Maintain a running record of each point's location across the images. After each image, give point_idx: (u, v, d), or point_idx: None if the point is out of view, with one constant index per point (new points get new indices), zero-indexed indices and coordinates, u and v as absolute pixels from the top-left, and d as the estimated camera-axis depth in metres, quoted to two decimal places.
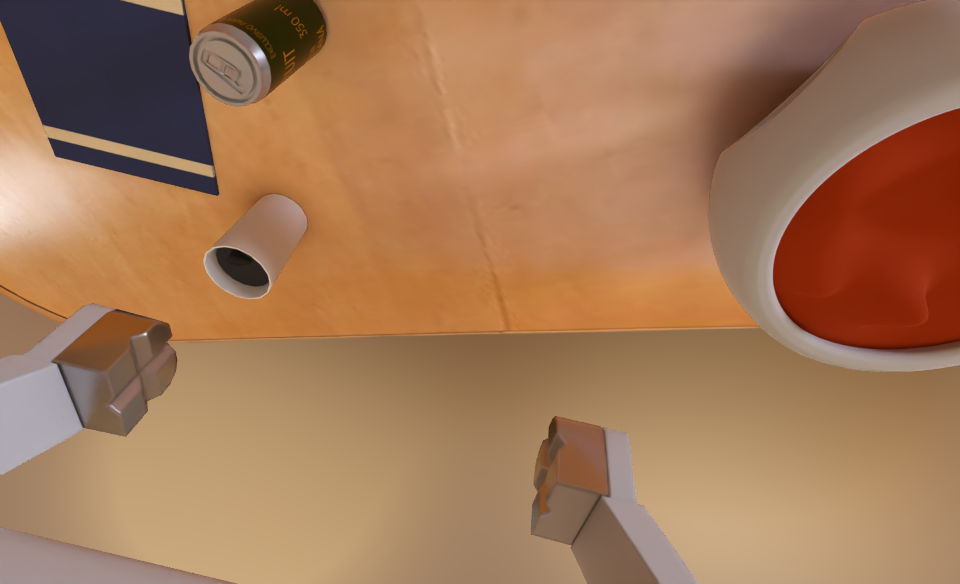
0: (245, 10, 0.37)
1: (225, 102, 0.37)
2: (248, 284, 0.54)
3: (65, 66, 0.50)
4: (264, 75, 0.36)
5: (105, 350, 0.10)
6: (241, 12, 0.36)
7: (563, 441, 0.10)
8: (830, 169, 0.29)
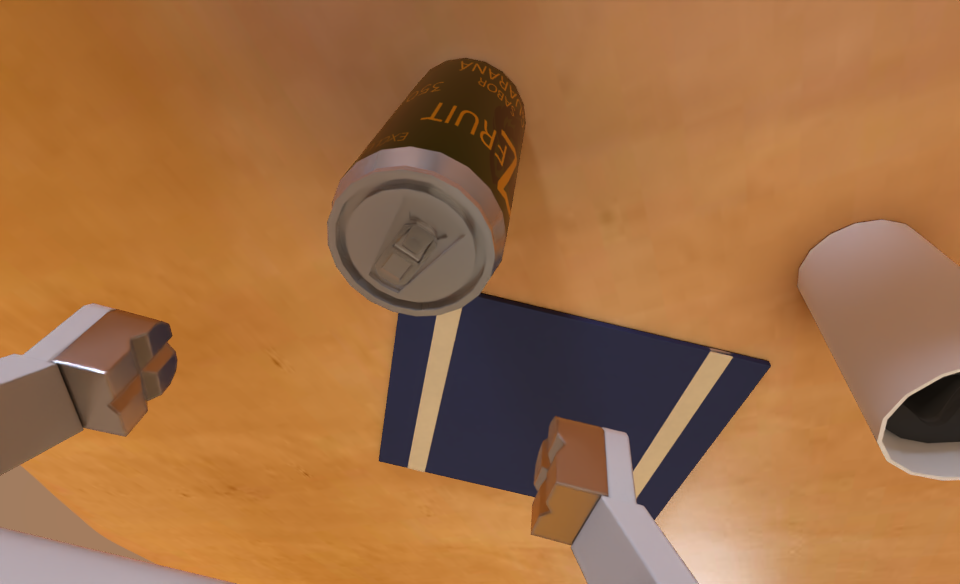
0: None
1: (486, 277, 0.15)
2: None
3: (533, 455, 0.38)
4: (421, 164, 0.14)
5: (105, 350, 0.10)
6: None
7: (563, 441, 0.10)
8: None
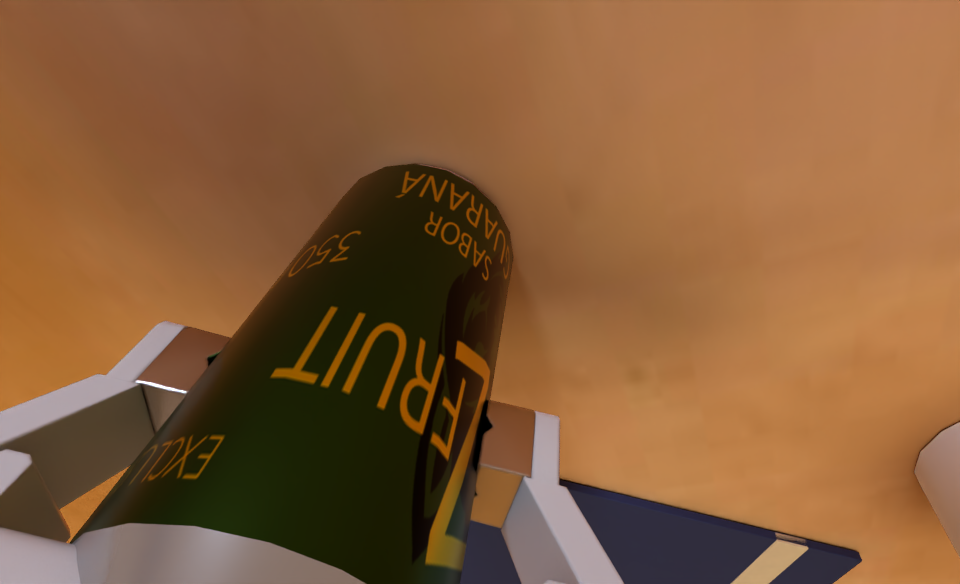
0: None
1: None
2: None
3: None
4: None
5: (185, 369, 0.10)
6: None
7: (491, 424, 0.10)
8: None
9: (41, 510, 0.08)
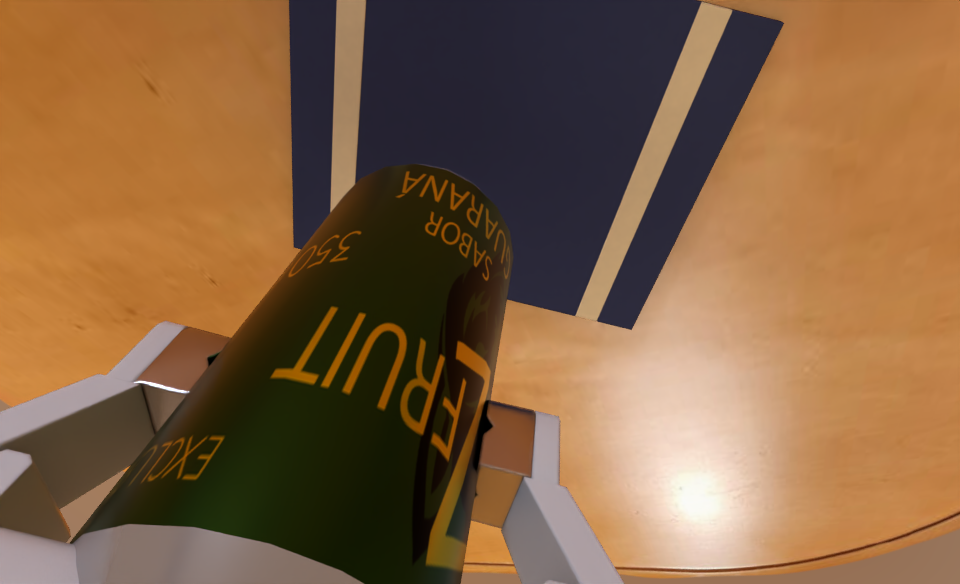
0: None
1: None
2: None
3: None
4: None
5: (185, 369, 0.10)
6: None
7: (491, 424, 0.10)
8: None
9: (41, 510, 0.08)
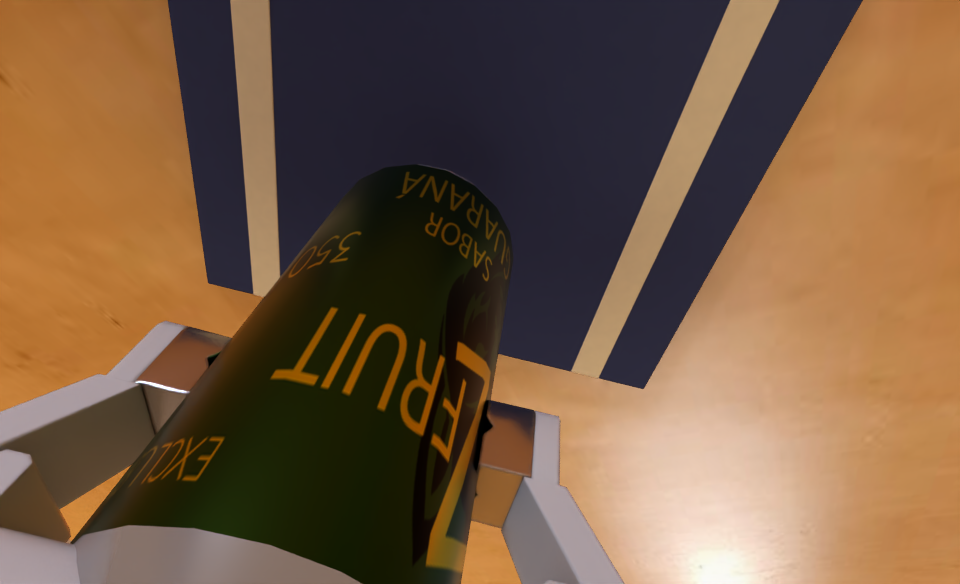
0: None
1: None
2: None
3: None
4: None
5: (185, 369, 0.10)
6: None
7: (491, 424, 0.10)
8: None
9: (41, 510, 0.08)
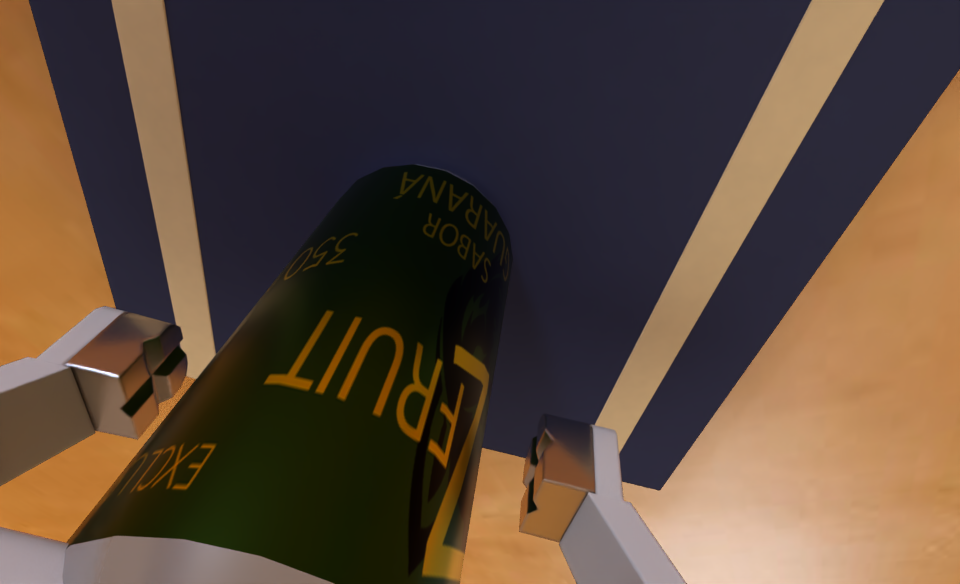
0: None
1: None
2: None
3: None
4: None
5: (118, 353, 0.10)
6: None
7: (551, 438, 0.10)
8: None
9: None
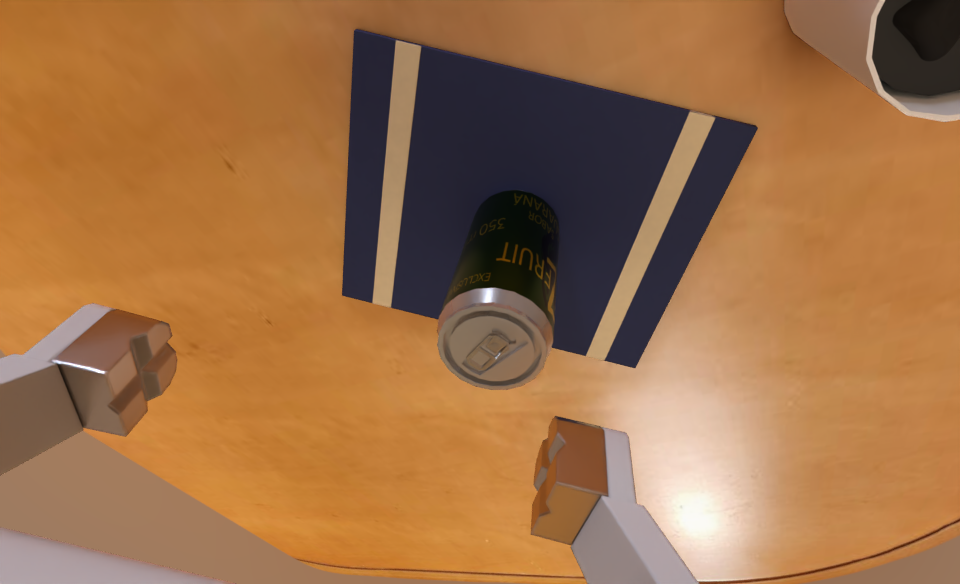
0: None
1: (540, 368, 0.24)
2: None
3: None
4: (502, 300, 0.23)
5: (105, 350, 0.10)
6: None
7: (563, 441, 0.10)
8: None
9: None
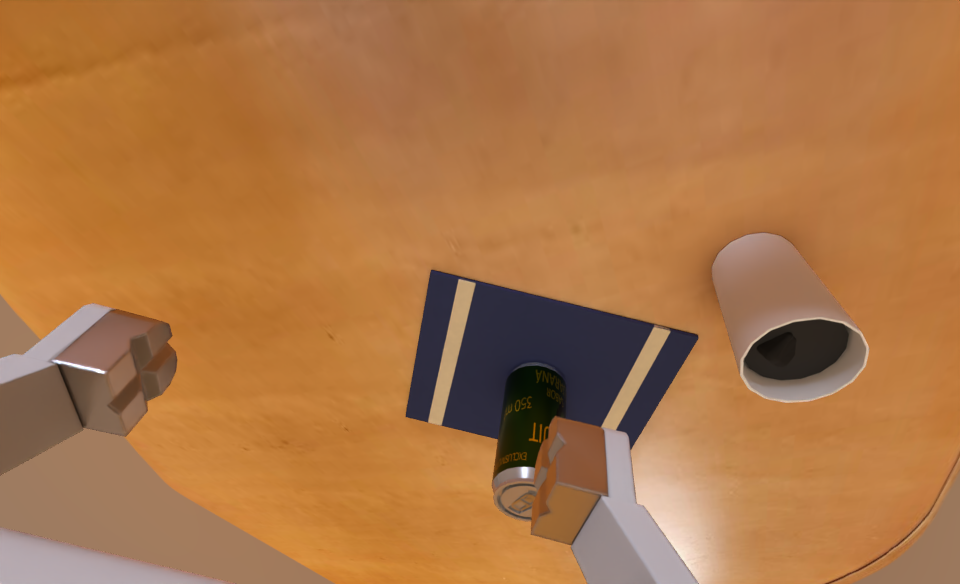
0: None
1: None
2: (838, 355, 0.31)
3: None
4: None
5: (105, 350, 0.10)
6: (496, 454, 0.41)
7: (563, 441, 0.10)
8: None
9: None
